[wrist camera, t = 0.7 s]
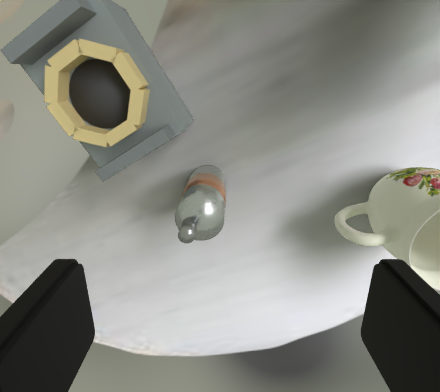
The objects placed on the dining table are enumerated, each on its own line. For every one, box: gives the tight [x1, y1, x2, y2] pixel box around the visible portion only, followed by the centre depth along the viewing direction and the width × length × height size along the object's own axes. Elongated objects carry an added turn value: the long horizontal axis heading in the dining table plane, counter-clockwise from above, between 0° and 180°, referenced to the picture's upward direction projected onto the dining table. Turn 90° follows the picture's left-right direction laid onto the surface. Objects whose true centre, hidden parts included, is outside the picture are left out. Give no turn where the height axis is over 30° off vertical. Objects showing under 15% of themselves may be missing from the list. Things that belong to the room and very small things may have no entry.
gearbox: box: [1, 0, 194, 181], centre depth 31 cm, size 10×14×11 cm
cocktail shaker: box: [175, 165, 226, 243], centre depth 34 cm, size 5×5×13 cm
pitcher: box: [335, 167, 440, 290], centre depth 34 cm, size 11×18×14 cm, turn 97°
